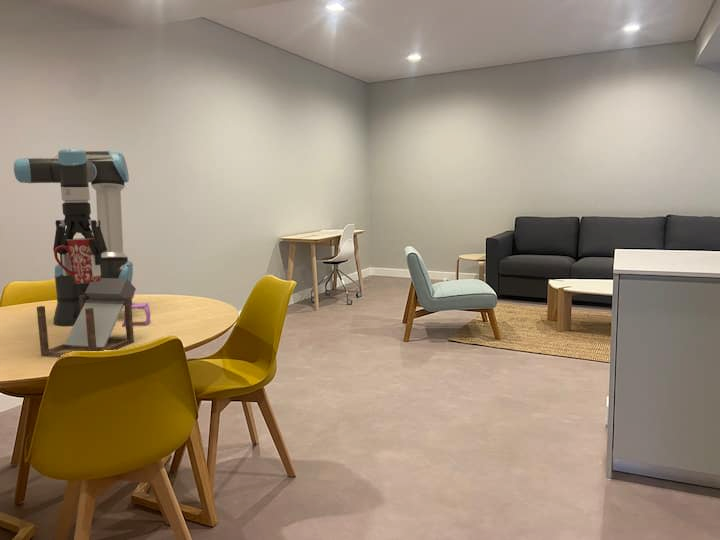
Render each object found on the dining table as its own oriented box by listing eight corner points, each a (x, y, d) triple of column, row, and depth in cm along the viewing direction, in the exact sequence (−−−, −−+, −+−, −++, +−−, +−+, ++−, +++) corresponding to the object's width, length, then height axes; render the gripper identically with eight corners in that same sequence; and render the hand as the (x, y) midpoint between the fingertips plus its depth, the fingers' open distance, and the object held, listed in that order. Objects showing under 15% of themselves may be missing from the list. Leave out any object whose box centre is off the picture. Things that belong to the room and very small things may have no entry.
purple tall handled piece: (146, 326, 198) (143, 286, 196) (121, 327, 197) (118, 286, 195) (151, 321, 206) (149, 282, 204) (127, 322, 205) (124, 283, 203)
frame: (40, 355, 163) (36, 307, 161) (85, 339, 181) (82, 295, 179) (94, 359, 159) (90, 309, 157) (134, 341, 178) (131, 296, 175)
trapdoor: (70, 349, 172) (58, 340, 167) (100, 287, 185) (91, 277, 180) (109, 351, 169) (98, 342, 164) (137, 289, 182) (128, 278, 177)
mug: (103, 278, 173) (98, 236, 171) (104, 281, 165) (99, 237, 163) (59, 283, 168) (53, 239, 166) (57, 286, 160) (51, 241, 158)
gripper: (34, 202, 162) (41, 276, 165) (99, 201, 157) (105, 278, 160) (54, 202, 169) (60, 272, 172) (116, 201, 164) (122, 274, 167)
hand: (82, 275), depth 166 cm, fingers closed on mug, 10 cm apart
